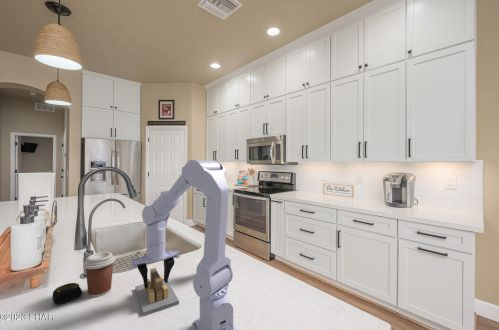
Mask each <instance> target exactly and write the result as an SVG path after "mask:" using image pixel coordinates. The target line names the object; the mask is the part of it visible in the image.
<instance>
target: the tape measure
mask: <svg viewBox="0 0 499 330" xmlns="http://www.w3.org/2000/svg"><path fill="white" fill-rule="evenodd" d="M82 295H83V291H82V288H81V287H80V284H79V283H77V282H68V283H66V284H62V285H60V286H58V287H57V288H55V289H54V290H53V291H52V302H53V304H54V305H60V304H65V303H67V302H70V301H73V300H76V299H78V298H81V297H82Z"/></svg>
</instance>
